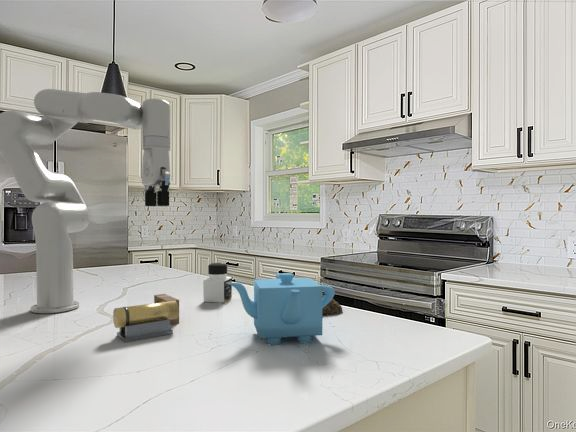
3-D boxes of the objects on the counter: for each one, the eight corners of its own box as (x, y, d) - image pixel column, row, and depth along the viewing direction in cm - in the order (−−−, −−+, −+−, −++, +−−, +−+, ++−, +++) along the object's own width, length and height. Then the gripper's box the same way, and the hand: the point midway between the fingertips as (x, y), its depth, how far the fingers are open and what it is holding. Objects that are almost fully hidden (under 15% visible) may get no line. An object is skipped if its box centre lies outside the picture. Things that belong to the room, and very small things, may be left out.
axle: (117, 332, 96) (119, 314, 95) (112, 321, 99) (114, 304, 98) (177, 322, 104) (179, 306, 103) (170, 312, 108) (173, 297, 106)
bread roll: (304, 318, 118) (304, 299, 118) (294, 307, 130) (294, 291, 130) (348, 315, 120) (348, 297, 120) (335, 305, 132) (335, 289, 132)
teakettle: (340, 334, 101) (340, 272, 101) (296, 356, 86) (296, 283, 86) (275, 322, 112) (275, 266, 112) (226, 340, 97) (226, 275, 97)
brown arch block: (154, 317, 118) (154, 295, 118) (164, 315, 119) (164, 293, 119) (167, 324, 110) (167, 301, 110) (179, 323, 111) (179, 299, 111)
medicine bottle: (224, 303, 135) (224, 264, 135) (203, 302, 136) (202, 264, 136) (232, 298, 142) (231, 262, 142) (211, 297, 143) (211, 261, 143)
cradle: (116, 335, 100) (116, 321, 100) (162, 327, 107) (162, 314, 107) (124, 342, 95) (124, 327, 95) (172, 333, 102) (172, 319, 102)
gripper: (133, 147, 125) (133, 206, 125) (153, 139, 111) (154, 205, 112) (158, 149, 130) (158, 206, 130) (181, 142, 116) (181, 206, 116)
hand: (156, 206), depth 121 cm, fingers open, 9 cm apart
